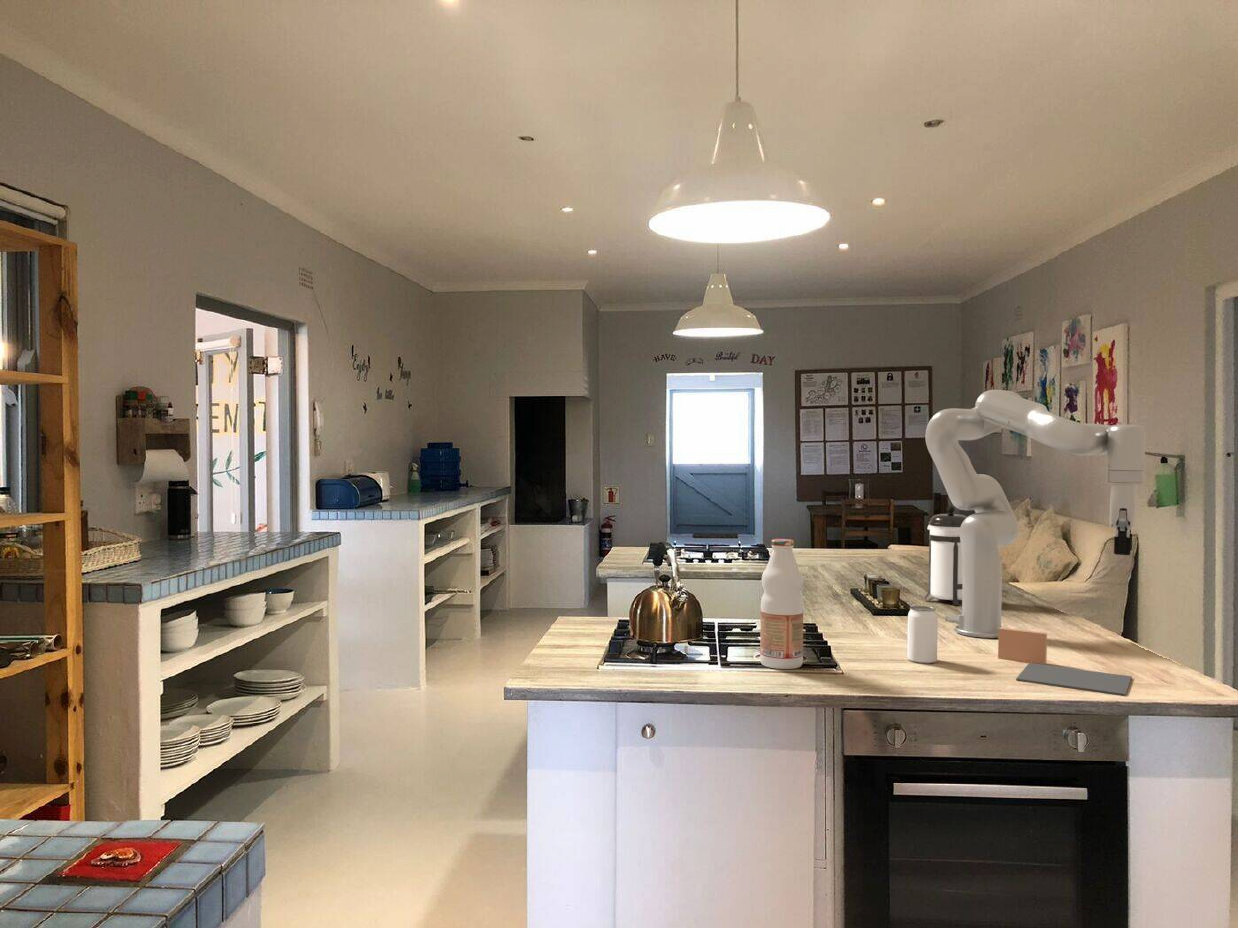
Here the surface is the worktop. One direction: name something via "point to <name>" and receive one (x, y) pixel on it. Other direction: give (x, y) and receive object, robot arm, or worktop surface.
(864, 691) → the worktop surface
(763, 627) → the fruit juice
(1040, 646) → the block
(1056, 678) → the mat
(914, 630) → the can
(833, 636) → the worktop surface
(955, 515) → the coffee press
